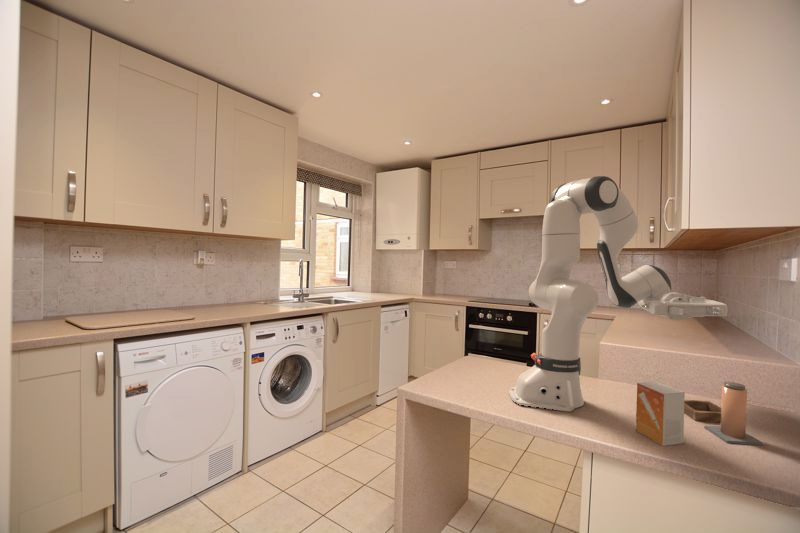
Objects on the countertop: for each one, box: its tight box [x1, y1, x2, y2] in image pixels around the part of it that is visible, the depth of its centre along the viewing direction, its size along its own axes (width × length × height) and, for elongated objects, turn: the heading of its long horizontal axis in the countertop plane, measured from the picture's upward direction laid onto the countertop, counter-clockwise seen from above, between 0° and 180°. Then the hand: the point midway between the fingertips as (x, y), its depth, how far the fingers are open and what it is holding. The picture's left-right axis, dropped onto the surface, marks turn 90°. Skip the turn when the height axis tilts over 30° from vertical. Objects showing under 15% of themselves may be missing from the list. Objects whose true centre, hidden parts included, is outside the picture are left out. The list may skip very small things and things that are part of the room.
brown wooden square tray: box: [684, 399, 721, 423], centre depth 107 cm, size 9×9×2 cm
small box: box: [635, 380, 686, 447], centre depth 93 cm, size 8×6×13 cm
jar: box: [720, 381, 748, 438], centre depth 94 cm, size 5×5×13 cm
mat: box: [704, 425, 764, 446], centre depth 94 cm, size 8×8×1 cm
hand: (702, 312), depth 105 cm, fingers open, 8 cm apart
